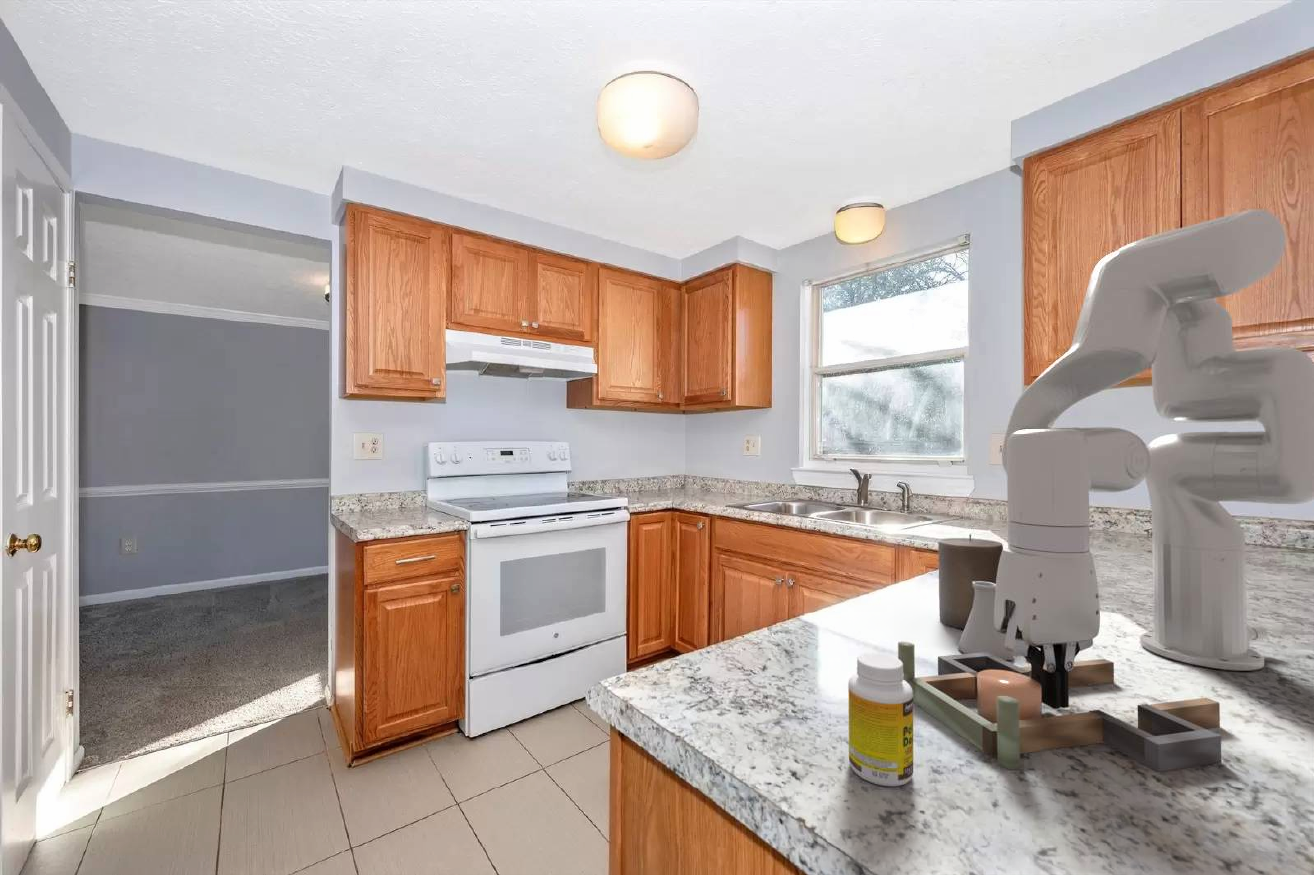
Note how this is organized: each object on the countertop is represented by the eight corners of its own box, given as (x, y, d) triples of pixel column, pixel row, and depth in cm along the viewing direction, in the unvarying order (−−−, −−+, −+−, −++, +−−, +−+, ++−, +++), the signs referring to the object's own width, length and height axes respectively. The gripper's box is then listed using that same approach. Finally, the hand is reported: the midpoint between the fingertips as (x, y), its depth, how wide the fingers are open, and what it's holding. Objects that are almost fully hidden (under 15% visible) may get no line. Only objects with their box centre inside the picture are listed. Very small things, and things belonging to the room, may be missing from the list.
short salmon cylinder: (1010, 702, 65) (1010, 667, 65) (1056, 728, 59) (1055, 690, 59) (965, 707, 64) (964, 672, 64) (1007, 733, 58) (1006, 695, 58)
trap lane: (1067, 663, 76) (1066, 619, 76) (1283, 752, 54) (1282, 690, 54) (880, 681, 71) (880, 634, 71) (1036, 790, 48) (1035, 721, 48)
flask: (1024, 664, 76) (1023, 591, 76) (966, 660, 77) (965, 588, 78) (1002, 646, 83) (1001, 578, 83) (950, 642, 85) (949, 576, 85)
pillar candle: (1018, 632, 89) (1016, 538, 89) (956, 632, 89) (955, 538, 89) (983, 615, 98) (982, 530, 99) (928, 614, 98) (926, 529, 99)
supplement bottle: (913, 796, 48) (912, 676, 48) (845, 780, 50) (844, 666, 50) (914, 762, 53) (913, 654, 53) (852, 749, 55) (851, 645, 55)
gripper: (1071, 531, 68) (1073, 683, 67) (964, 536, 65) (966, 694, 64) (1135, 541, 60) (1138, 712, 60) (1019, 547, 57) (1021, 726, 57)
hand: (1049, 702), depth 62 cm, fingers closed
